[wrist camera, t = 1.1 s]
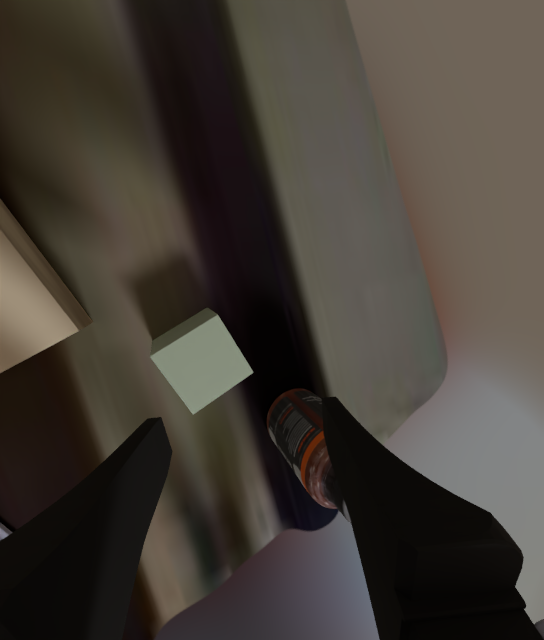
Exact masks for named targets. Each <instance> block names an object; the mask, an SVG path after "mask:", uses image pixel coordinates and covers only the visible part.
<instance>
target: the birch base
mask: <svg viewBox="0 0 544 640" xmlns="http://www.w3.org/2000/svg"><path fill="white" fill-rule="evenodd" d="M92 322H93V321H92V320H91V318H90V317H89V316H88V314H87V313H86V312H85V310H84V309H83V308H82V306H81V305H80V304H79V303H78V301H77V300H76V299H75V297H74V296H73V295H72V293H71V292H70V291H69V289H68V288H67V287H66V285H65V284H64V283H63V281H62V280H61V279H60V277H59V276H58V275H57V273H56V272H55V271H54V269H53V268H52V267H51V265H50V264H49V263H48V261H47V260H46V259H45V257H44V256H43V255H42V253H41V252H40V251H39V249H38V248H37V247H36V245H35V244H34V243H33V241H32V240H31V239H30V237H29V236H28V235H27V233H26V232H25V231H24V229H23V228H22V227H21V225H20V224H19V223H18V221H17V220H16V219H15V217H14V216H13V215H12V213H11V212H10V211H9V209H8V208H7V207H6V206H5V204H4V203H3V202H2V200H1V199H0V373H1V372H3V371H5V370H7V369H9V368H10V367H12V366H14V365H16V364H18V363H20V362H22V361H23V360H25V359H27V358H29V357H31V356H33V355H35V354H37V353H38V352H40V351H42V350H44V349H46V348H48V347H50V346H52V345H53V344H55V343H57V342H59V341H61V340H63V339H65V338H67V337H68V336H70V335H72V334H74V333H76V332H78V331H80V330H81V329H83V328H84V327H86V326H88V325H89V324H91V323H92Z"/></svg>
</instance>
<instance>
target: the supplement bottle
mask: <svg viewBox="0 0 544 640" xmlns="http://www.w3.org/2000/svg"><path fill="white" fill-rule="evenodd" d="M267 429H268V432H269V435H270V436H271V438H272V440H273V441H274V443H275V444H276V446H277V447H278V449H279V450H280V452H281V453H282V455H283V456H284V458H285V459H286V461H287V462H288V463H289V465H290V466H291V468H292V469H293V471H294V473H295V474H296V475H297V477H298V478H299V480H300V481H301V483H302V484H303V486H304V487H305V488H306V490H307V491H308V493H309V494H310V495H311V497H312V498H313V499H314V500H315V501H316V502H318V503H319V504H321V505H322V506H324V507H327V508H333V509H338V510H339V511H340V512H341V513H342V514H343V516H344V517H345V518H346V519H347V520H348V521H349V522H350V523H351V520H350V517H349V513H348V510H347V507H346V504H345V501H344V498H343V495H342V493H341V490H340V487H339V484H338V481H337V478H336V476H335V473H334V470H333V467H332V464H331V461H330V458H329V455H328V451H327V447H326V443H325V438H324V434H323V415H322V399H320V398H319V397H318V396H317V395H315V394H314V393H312V392H310V391H308V390H306V389H301V388H297V389H292V390H289V391H286V392H284V393H283V394H281V395H280V396H279V397H278V398H277V399H276V400H275V401H274V402H273V404H272V405H271V407H270V409H269V412H268V415H267Z"/></svg>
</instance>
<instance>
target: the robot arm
mask: <svg viewBox="0 0 544 640" xmlns="http://www.w3.org/2000/svg"><path fill="white" fill-rule="evenodd" d="M322 415H323V434H324V438H325V443H326V447H327V451H328V455H329V458H330V461H331V464H332V467H333V470H334V473H335V476H336V478H337V481H338V484H339V487H340V490H341V493H342V495H343V498H344V501H345V504H346V507H347V510H348V513H349V517H350V520H351V524H352V527H353V531H354V535H355V539H356V543H357V547H358V551H359V555H360V559H361V563H362V567H363V571H364V575H365V579H366V583H367V588H368V591H369V595H370V600H371V604H372V608H373V612H374V616H375V621H376V625H377V629H378V634H379V639H380V640H544V619H543V620H540V621H538V622H536V623H535V624H533V623H532V621H531V620H530V618H529V616H528V615H527V613H526V612H525V610H524V609H525V608H526V604H525V601H524V600H523V598H522V597H521V595H520V594H519V592H518V591H517V589H516V588H515V585H516V582H517V580H518V577H519V574H520V572H521V569H522V564H523V554H522V552H521V550H520V548H519V547H518V546H517V544H516V543H515V542H514V540H513V539H512V538H511V537H510V535H509V534H508V533H507V532H506V530H505V529H504V528H503V526H502V525H501V524H500V523H499V522H498V521H497V520H496V519H495V518H494V517H493V515H492V514H491V513H490V512H487V511H486V510H484V509H482V508H480V507H478V506H476V505H474V504H472V503H470V502H468V501H466V500H464V499H462V498H460V497H458V496H457V495H455V494H453V493H451V492H450V491H448V490H446V489H444V488H443V487H441V486H439V485H437V484H436V483H434V482H432V481H431V480H429V479H428V478H426V477H425V476H423V475H422V474H420V473H419V472H417V471H415V470H414V469H413V468H411V467H410V466H408V465H407V464H406V463H404V462H403V461H402V460H400V459H399V458H398V457H396V456H395V455H394V454H393V453H391V452H390V451H389V450H388V449H386V448H385V447H384V446H383V445H382V444H381V443H380V442H379V441H377V440H376V439H375V438H374V437H373V436H372V435H371V434H370V433H369V432H368V431H367V430H366V429H365V428H364V427H363V426H362V425H361V424H360V423H359V422H358V421H357V420H356V419H355V418H354V417H353V416H352V415H351V414H350V413H349V411H348V410H347V409H346V408H345V407H344V406H343V404H342V403H341V402H340V401H339V400H338V398H336V397H328V398H322ZM171 455H172V449H171V446H170V443H169V440H168V437H167V434H166V431H165V427H164V424H163V421H162V418H161V417H158V418H149V419H147V420H146V421H145V422H144V423H142V424H141V425H140V426H139V427H138V428H137V429H136V430H135V431H134V432H133V433H132V434H131V435H130V436H129V437H128V438H127V439H126V440H125V441H124V442H123V443H122V444H121V445H120V446H119V447H118V448H117V449H116V450H115V451H114V452H113V453H112V454H111V455H110V456H109V457H108V458H107V459H106V460H105V461H104V462H103V463H101V464H100V465H99V466H98V467H97V468H96V469H95V470H94V471H93V472H92V473H91V474H89V475H88V476H87V477H86V478H85V479H84V480H83V481H81V482H80V483H79V484H78V485H77V486H75V487H74V488H73V489H72V490H71V491H69V492H68V493H67V494H66V495H64V496H63V497H62V498H60V499H59V500H58V501H57V502H55V503H54V504H52V505H51V506H50V507H48V508H47V509H46V510H44V511H43V512H41V513H40V514H39V515H37V516H36V517H35V518H33V519H32V520H30V521H29V522H28V523H26V524H25V525H23V526H22V527H20V528H19V529H17V530H16V531H14V532H13V533H12V532H11V531H10V530H9V529H7V528H6V527H5V526H4V525H3V524H1V523H0V640H122V636H123V631H124V626H125V621H126V616H127V612H128V607H129V602H130V598H131V594H132V589H133V585H134V581H135V576H136V572H137V568H138V564H139V560H140V556H141V553H142V549H143V545H144V541H145V538H146V535H147V532H148V529H149V526H150V523H151V520H152V517H153V514H154V512H155V509H156V506H157V503H158V500H159V498H160V495H161V492H162V489H163V486H164V483H165V480H166V477H167V474H168V469H169V465H170V460H171Z"/></svg>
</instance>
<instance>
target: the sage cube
mask: <svg viewBox="0 0 544 640" xmlns="http://www.w3.org/2000/svg"><path fill="white" fill-rule="evenodd" d="M150 357H151V359H152V360H153V362H154V363H155V364H156V366H157V367H158V368H159V370H160V371H161V372H162V374H163V375H164V376H165V378H166V379H167V380H168V382H169V383H170V384H171V386H172V387H173V388H174V390H175V391H176V392H177V394H178V395H179V396H180V398H181V399H182V400H183V402H184V403H185V404H186V406H187V407H188V408H189V410H190V411H191V412H192V414H195V413H196V412H198V411H199V410H200V409H202V408H203V407H205V406H206V405H208V404H209V403H210V402H212V401H213V400H215V399H216V398H218V397H219V396H221V395H222V394H223V393H225V392H226V391H228V390H229V389H231V388H232V387H233V386H235V385H236V384H238V383H239V382H241V381H242V380H244V379H245V378H246V377H248V376H249V375H251V374H252V373H254V372H253V371H252V369H251V368H250V366H249V364H248V363H247V361H246V359H245V358H244V356H243V355H242V353H241V351H240V350H239V348H238V346H237V345H236V343H235V342H234V340H233V338H232V337H231V335H230V334H229V332H228V330H227V329H226V327H225V325H224V324H223V322H222V321H221V319H220V317H219V316H218V314H216V313H215V312H213V311H212V310H210V309H209V308H208V307H207V308H205V309H204V310H202V311H200V312H199V313H197V314H195V315H194V316H192V317H190V318H189V319H187V320H185V321H184V322H182V323H180V324H179V325H177V326H176V327H174V328H172V329H171V330H169V331H167V332H166V333H164V334H162V335H161V336H159V337H157V338H156V339H154V340H153V341H152V347H151V353H150Z"/></svg>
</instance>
